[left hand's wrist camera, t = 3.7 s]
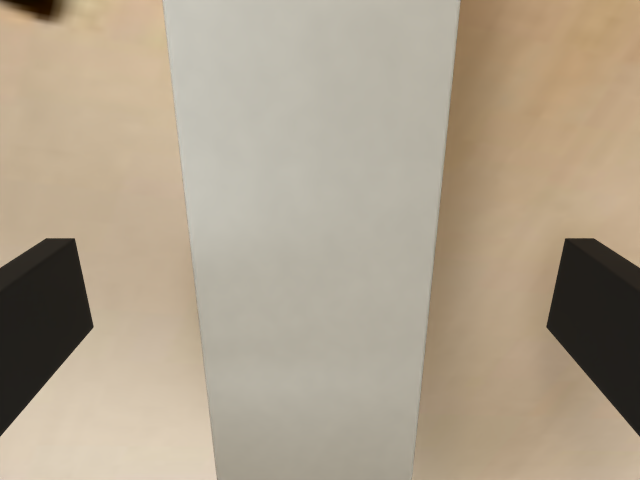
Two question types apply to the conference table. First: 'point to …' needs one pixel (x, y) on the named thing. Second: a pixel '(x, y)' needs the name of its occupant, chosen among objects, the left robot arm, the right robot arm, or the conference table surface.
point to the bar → (312, 223)
